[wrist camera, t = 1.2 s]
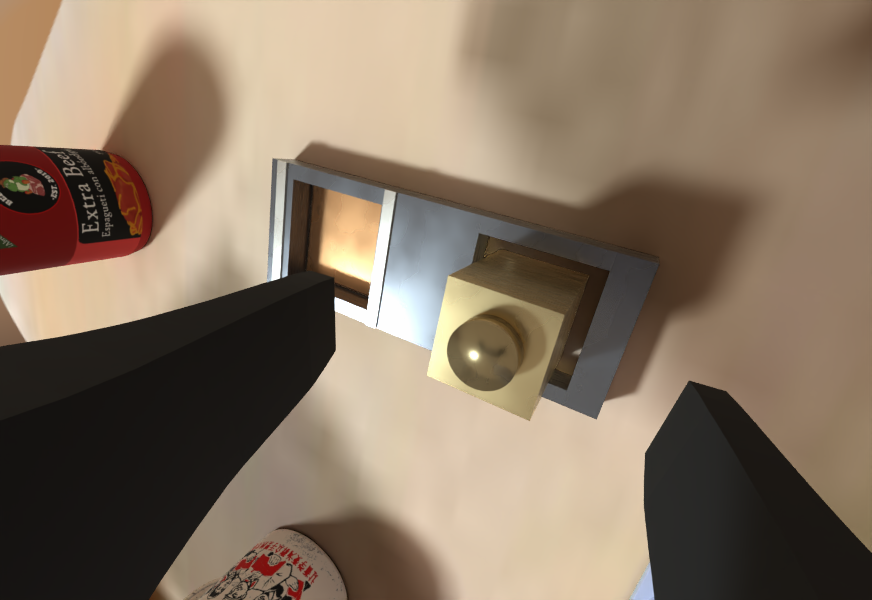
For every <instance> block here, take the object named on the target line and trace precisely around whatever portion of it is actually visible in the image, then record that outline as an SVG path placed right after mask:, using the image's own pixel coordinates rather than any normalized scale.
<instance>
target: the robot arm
mask: <svg viewBox="0 0 872 600" xmlns="http://www.w3.org/2000/svg"><path fill="white" fill-rule="evenodd" d="M335 351H336V338H335V285H334V277H331V276H327V275H324V274H320V273H317V272H313V271H305V272H301V273H297V274H293V275H289V276H286V277H282V278H279V279H276V280H273V281H269V282H266V283H263V284H260V285H257V286H253V287H250V288H247V289H244V290H241V291H238V292H234V293H231V294H228V295H225V296H222V297H218V298H215V299H212V300H209V301H205V302H202V303H198V304H195V305H191V306H188V307H184V308H180V309H177V310H173V311H170V312H166V313H163V314H159V315H156V316H152V317H148V318H144V319H140V320H136V321H132V322H128V323H124V324H120V325H115V326H111V327H106V328H101V329H97V330H92V331H87V332H82V333H78V334H73V335H67V336H62V337H56V338H50V339H44V340H38V341H32V342H26V343H20V344H14V345H7V346H1V347H0V600H149V598H150V597H151V595H152V594H153V592H154V591H155V589H156V587H157V586H158V584H159V583H160V581H161V580H162V578H163V577H164V575H165V574H166V572H167V571H168V569H169V568H170V566H171V565H172V564H173V562H174V561H175V559H176V558H177V556H178V555H179V553H180V552H181V550H182V549H183V547H184V546H185V544H186V543H187V542H188V540H189V539H190V537H191V536H192V534H193V533H194V531H195V530H196V528H197V527H198V526H199V524H200V523H201V521H202V520H203V519H204V517H205V516H206V515H207V513H208V512H209V510H210V509H211V508H212V506H213V505H214V503H215V502H216V501H217V499H218V498H219V496H220V495H221V494H222V492H223V491H224V489H225V488H226V487H227V485H228V484H229V483H230V482H231V480H232V479H233V478H234V477H235V476H236V474H237V473H238V472H239V471H240V469H241V468H242V467H243V466H244V465H245V463H246V462H247V461H248V460H249V459H250V458H251V457H252V455H253V454H254V453H255V452H256V451H257V450H258V449H259V447H260V446H261V445H262V444H263V443H264V442H265V441H266V439H267V438H268V437H269V436H270V435H271V434H272V433H273V431H274V430H275V429H276V428H277V427H278V426H279V425H280V423H281V422H282V421H283V420H284V419H285V418H286V417H287V415H288V414H289V413H290V412H291V411H292V410H293V408H294V407H295V406H296V405H297V404H298V403H299V401H300V400H301V399H302V398H303V397H304V396H305V394H306V393H307V392H308V391H309V390H310V388H311V387H312V386H313V385H314V383H315V382H316V380H317V379H318V377H319V376H320V374H321V373H322V371H323V370H324V368H325V367H326V365H327V363H328V362H329V360H330V359H331V357H332V356H333V354H334V352H335ZM644 511H645V521H646V530H647V540H648V549H649V557H650V562H649V564H648V566H647V568H646V569H645V571H644V573H643V575H642V577H641V579H640V580H639V582H638V584H637V586H636V588H635V590H634V592H633V593H632V595H631V597H630V599H629V600H872V553H871V552H870V551H869V550H868V549H867V548H866V547H865V545H864V544H863V543H862V542H861V541H860V540H859V539H858V538H857V537H856V536H855V535H854V534H853V533H852V532H851V530H850V529H849V528H848V527H847V526H846V525H845V524H844V523H843V522H842V521H841V520H840V519H839V517H838V516H837V515H836V514H835V513H834V512H833V511H832V510H831V509H830V508H829V506H828V505H827V504H826V503H825V502H824V501H823V500H822V499H821V498H820V496H819V495H818V494H817V493H816V492H815V491H814V490H813V488H812V487H811V486H810V485H809V484H808V483H807V482H806V481H805V479H804V478H803V477H802V476H801V475H800V474H799V473H798V471H797V470H796V469H795V468H794V467H793V466H792V465H791V463H790V462H789V461H788V460H787V459H786V458H785V457H784V455H783V454H782V453H781V452H780V451H779V450H778V448H777V447H776V446H775V445H774V444H773V443H772V442H771V440H770V439H769V438H768V437H767V436H766V435H765V433H764V432H763V431H762V430H761V429H760V428H759V427H758V425H757V424H756V423H755V422H754V421H753V420H752V419H751V417H750V416H749V415H748V414H747V413H746V412H745V411H744V410H743V408H742V407H741V406H740V405H739V404H738V403H737V402H736V401H735V400H734V399H733V398H732V397H731V396H730V395H729V394H728V393H727V392H726V391H723V390H720V389H716V388H713V387H709V386H706V385H703V384H699V383H696V382H692V381H689V382H688V383H687V385H686V387H685V388H684V390H683V392H682V393H681V395H680V397H679V398H678V400H677V401H676V403H675V405H674V406H673V408H672V410H671V411H670V413H669V415H668V416H667V418H666V420H665V421H664V423H663V425H662V426H661V428H660V430H659V431H658V433H657V435H656V436H655V438H654V439H653V441H652V443H651V444H650V446H649V448H648V449H647V451H646V453H645V470H644Z"/></svg>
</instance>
